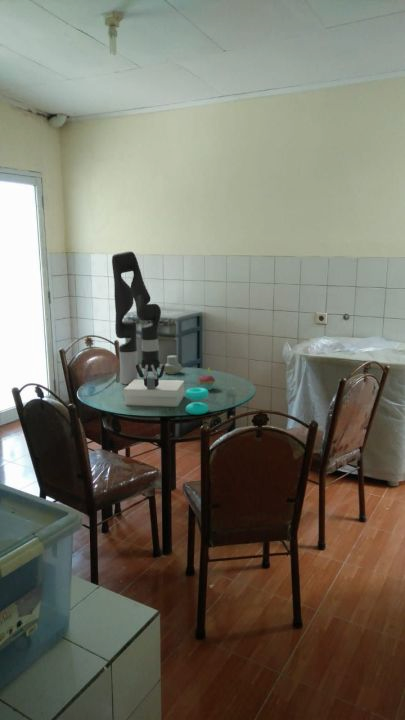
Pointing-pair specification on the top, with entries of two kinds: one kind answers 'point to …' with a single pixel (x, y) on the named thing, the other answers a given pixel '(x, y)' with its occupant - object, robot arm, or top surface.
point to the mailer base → (156, 400)
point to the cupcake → (206, 381)
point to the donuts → (197, 407)
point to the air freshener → (172, 365)
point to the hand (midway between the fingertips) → (151, 386)
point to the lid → (153, 388)
